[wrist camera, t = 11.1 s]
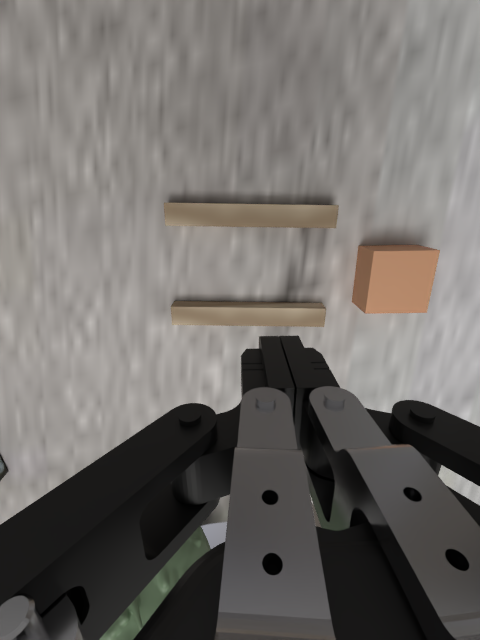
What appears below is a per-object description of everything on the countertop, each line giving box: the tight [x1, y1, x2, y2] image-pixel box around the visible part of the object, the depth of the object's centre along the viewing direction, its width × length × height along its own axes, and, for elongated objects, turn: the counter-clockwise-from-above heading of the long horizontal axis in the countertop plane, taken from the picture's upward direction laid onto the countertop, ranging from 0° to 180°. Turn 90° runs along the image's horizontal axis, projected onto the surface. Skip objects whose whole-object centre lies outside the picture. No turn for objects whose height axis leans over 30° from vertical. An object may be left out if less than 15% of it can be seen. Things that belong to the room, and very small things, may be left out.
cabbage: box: [99, 526, 211, 640], centre depth 36 cm, size 16×19×20 cm
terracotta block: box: [352, 245, 440, 313], centre depth 31 cm, size 6×6×4 cm
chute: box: [164, 203, 339, 327], centre depth 31 cm, size 12×16×2 cm
